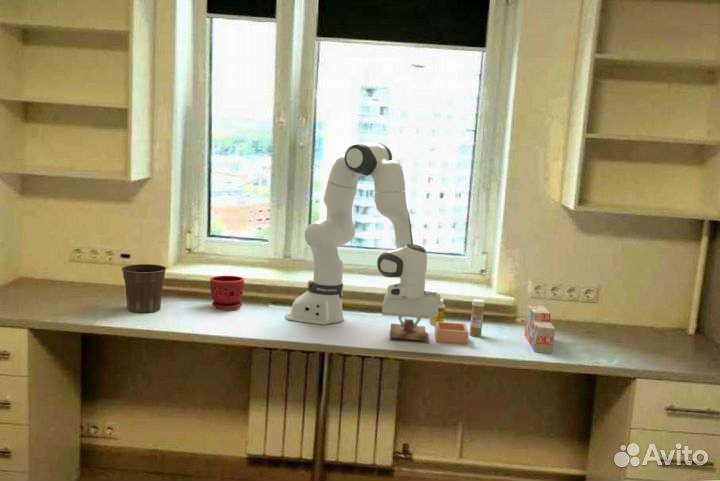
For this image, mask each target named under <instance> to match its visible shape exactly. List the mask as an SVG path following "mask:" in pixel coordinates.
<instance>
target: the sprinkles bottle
mask: <svg viewBox="0 0 720 481" xmlns="http://www.w3.org/2000/svg"><path fill="white" fill-rule="evenodd" d="M471 305H472V308H471V315H470V316H471V317H470V322H469V323H470V325H469V326H470V327H469V332H468V335H470V336H472V337H477V338H478V337H481V336H482V329H483V322H484V321H483V320H484V309H485V306H486V305H485V300H484V299H480V298H474V299H473V298H472V303H471Z"/></svg>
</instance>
